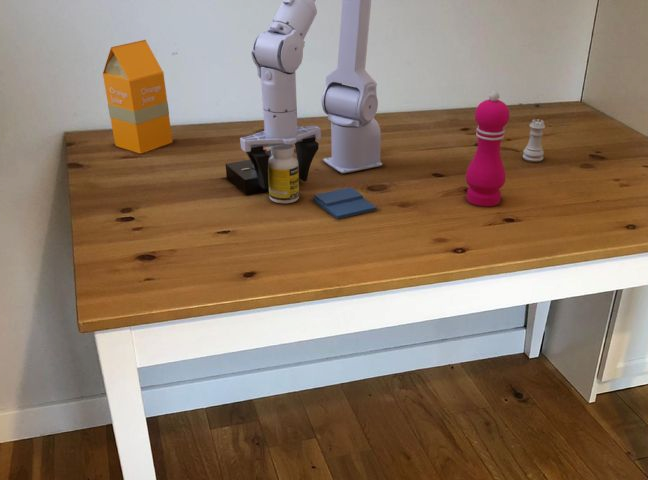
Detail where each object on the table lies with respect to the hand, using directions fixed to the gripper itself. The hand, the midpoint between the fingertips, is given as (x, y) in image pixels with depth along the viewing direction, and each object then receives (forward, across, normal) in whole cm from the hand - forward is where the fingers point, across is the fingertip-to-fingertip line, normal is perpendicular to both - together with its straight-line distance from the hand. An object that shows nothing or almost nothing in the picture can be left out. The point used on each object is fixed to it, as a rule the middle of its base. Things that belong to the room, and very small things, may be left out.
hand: (283, 183), depth 138 cm
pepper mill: (+3, +32, -18) cm, 37 cm away
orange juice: (+3, -13, +39) cm, 41 cm away
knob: (0, 0, +9) cm, 9 cm away
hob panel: (+3, 0, +9) cm, 9 cm away
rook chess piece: (+3, +55, -6) cm, 55 cm away
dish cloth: (+3, +8, -8) cm, 12 cm away
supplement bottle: (+3, 0, 0) cm, 3 cm away
